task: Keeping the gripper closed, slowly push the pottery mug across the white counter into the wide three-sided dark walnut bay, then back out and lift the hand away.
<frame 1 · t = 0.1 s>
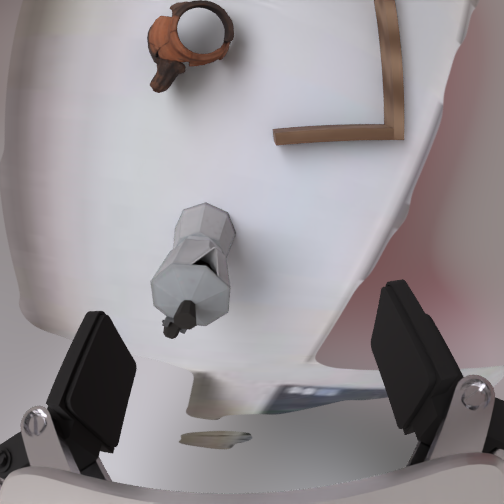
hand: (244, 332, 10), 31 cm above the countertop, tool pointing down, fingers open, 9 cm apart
walnut bay: (323, 35, 29), on the countertop
pottery mug: (186, 48, 30), on the countertop
coffee maker: (201, 236, 44), on the countertop
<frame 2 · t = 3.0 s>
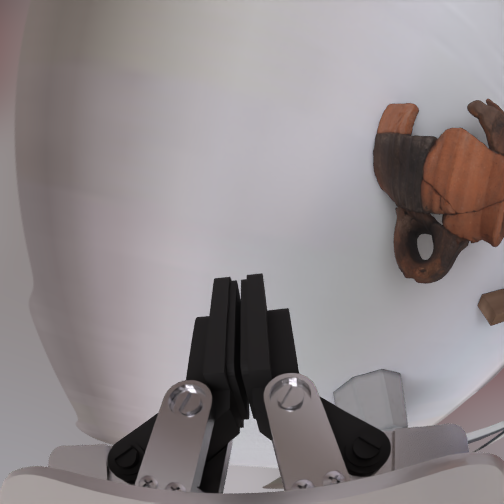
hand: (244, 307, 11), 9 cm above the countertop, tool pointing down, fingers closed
pottery mug: (427, 166, 17), on the countertop
coffee maker: (360, 393, 32), on the countertop
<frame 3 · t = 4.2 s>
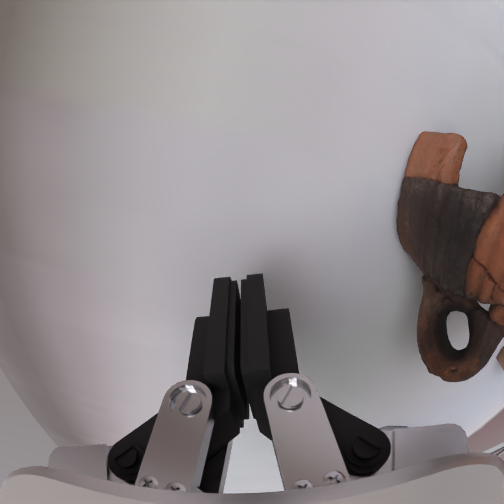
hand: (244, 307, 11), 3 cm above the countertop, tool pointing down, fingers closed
pottery mug: (463, 214, 12), on the countertop
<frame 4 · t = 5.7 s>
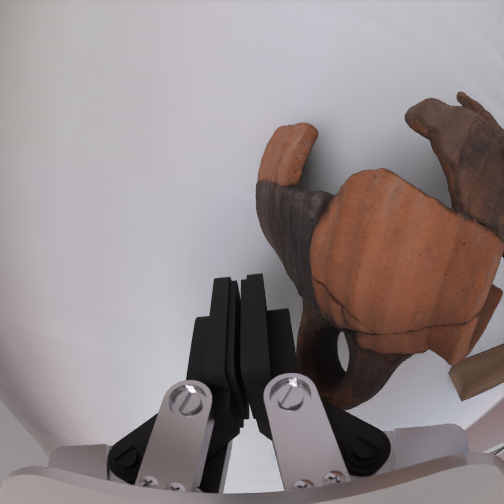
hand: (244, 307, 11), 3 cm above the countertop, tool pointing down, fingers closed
pottery mug: (365, 213, 12), on the countertop, touching gripper
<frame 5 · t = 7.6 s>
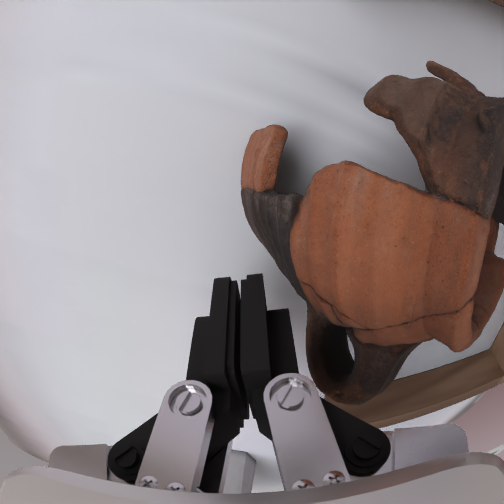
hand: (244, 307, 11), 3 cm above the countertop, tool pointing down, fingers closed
walnut bay: (468, 233, 12), on the countertop
pottery mug: (359, 203, 12), on the countertop, touching gripper
coffee maker: (211, 460, 27), on the countertop
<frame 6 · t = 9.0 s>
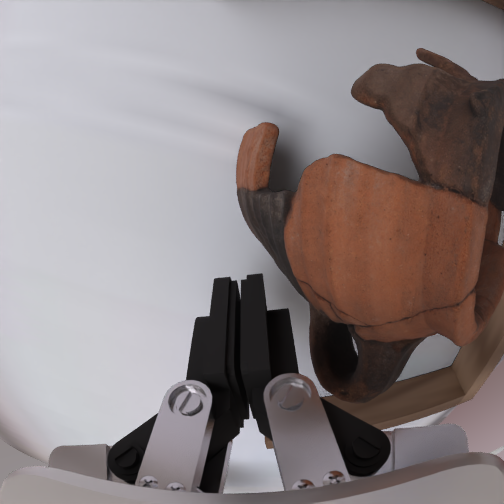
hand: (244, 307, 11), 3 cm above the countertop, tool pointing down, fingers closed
walnut bay: (400, 246, 13), on the countertop
pottery mug: (358, 197, 12), on the countertop, touching gripper
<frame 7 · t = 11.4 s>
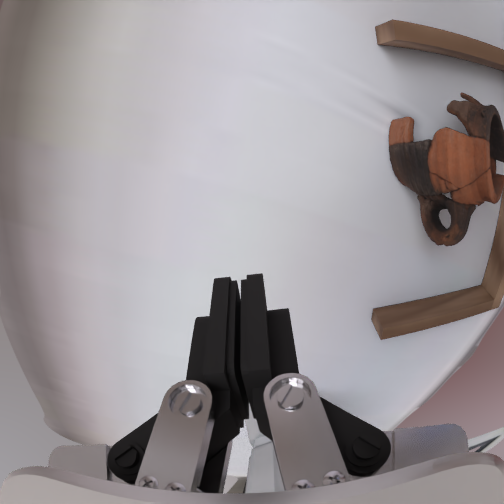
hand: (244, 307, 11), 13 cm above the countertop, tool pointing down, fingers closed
walnut bay: (453, 189, 22), on the countertop
pottery mug: (432, 157, 21), on the countertop
coffee maker: (270, 400, 36), on the countertop
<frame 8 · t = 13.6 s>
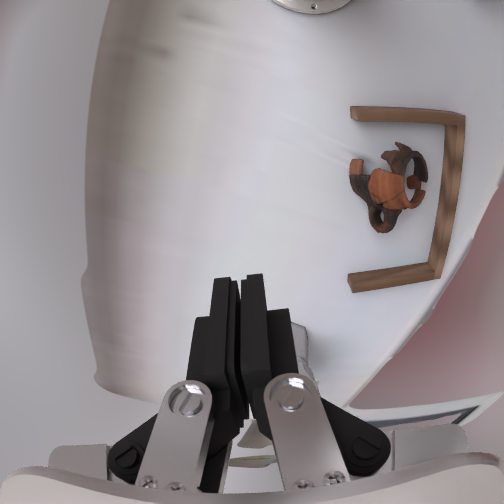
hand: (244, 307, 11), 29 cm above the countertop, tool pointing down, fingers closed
walnut bay: (398, 200, 40), on the countertop
pottery mug: (379, 178, 38), on the countertop
coffee maker: (281, 340, 55), on the countertop
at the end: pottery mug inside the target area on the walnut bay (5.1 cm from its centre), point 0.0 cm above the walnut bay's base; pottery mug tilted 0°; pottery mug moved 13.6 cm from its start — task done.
